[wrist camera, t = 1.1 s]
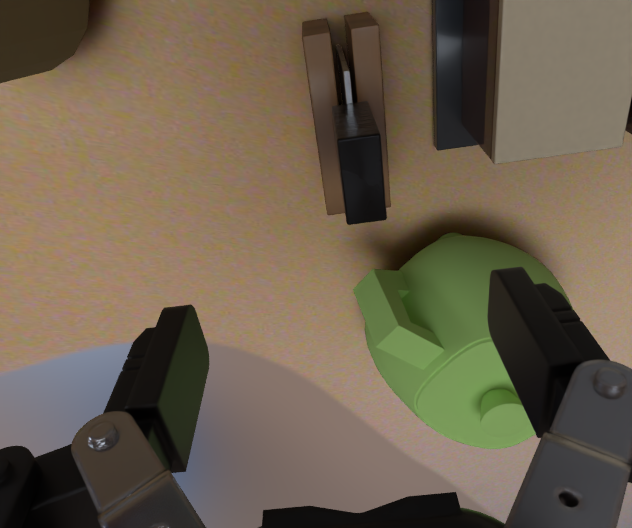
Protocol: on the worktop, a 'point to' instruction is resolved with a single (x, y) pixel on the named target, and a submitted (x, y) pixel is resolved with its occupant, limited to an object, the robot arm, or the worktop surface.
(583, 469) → the robot arm
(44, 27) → the squeeze bottle
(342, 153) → the knife
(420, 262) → the teapot
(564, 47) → the cake
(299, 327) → the worktop surface
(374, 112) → the knife block
